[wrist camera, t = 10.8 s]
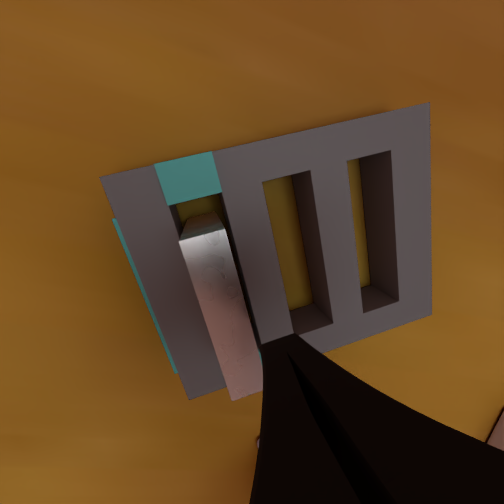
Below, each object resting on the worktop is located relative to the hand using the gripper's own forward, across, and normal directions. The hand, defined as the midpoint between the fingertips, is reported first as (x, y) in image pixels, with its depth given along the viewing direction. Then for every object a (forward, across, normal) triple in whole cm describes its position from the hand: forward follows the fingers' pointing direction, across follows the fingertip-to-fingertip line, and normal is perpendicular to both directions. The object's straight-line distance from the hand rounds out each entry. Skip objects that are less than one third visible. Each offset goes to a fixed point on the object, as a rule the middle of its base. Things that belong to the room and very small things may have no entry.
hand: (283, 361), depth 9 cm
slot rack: (+9, -4, -1) cm, 10 cm away
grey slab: (+9, +2, -1) cm, 10 cm away
